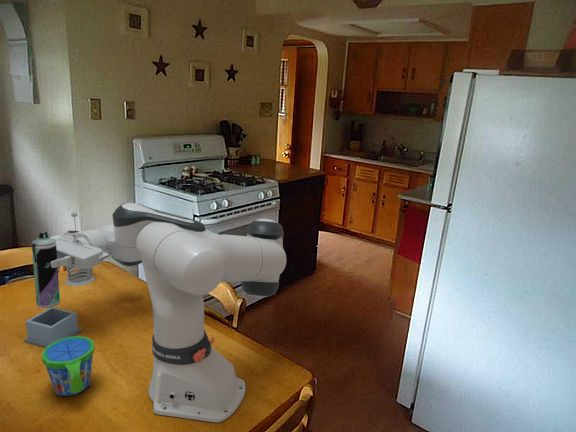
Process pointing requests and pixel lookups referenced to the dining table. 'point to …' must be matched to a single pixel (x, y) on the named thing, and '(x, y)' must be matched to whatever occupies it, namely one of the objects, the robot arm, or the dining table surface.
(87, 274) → the french press
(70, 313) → the collar stand
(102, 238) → the robot arm
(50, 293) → the spray can
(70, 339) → the snack cup
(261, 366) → the dining table surface
